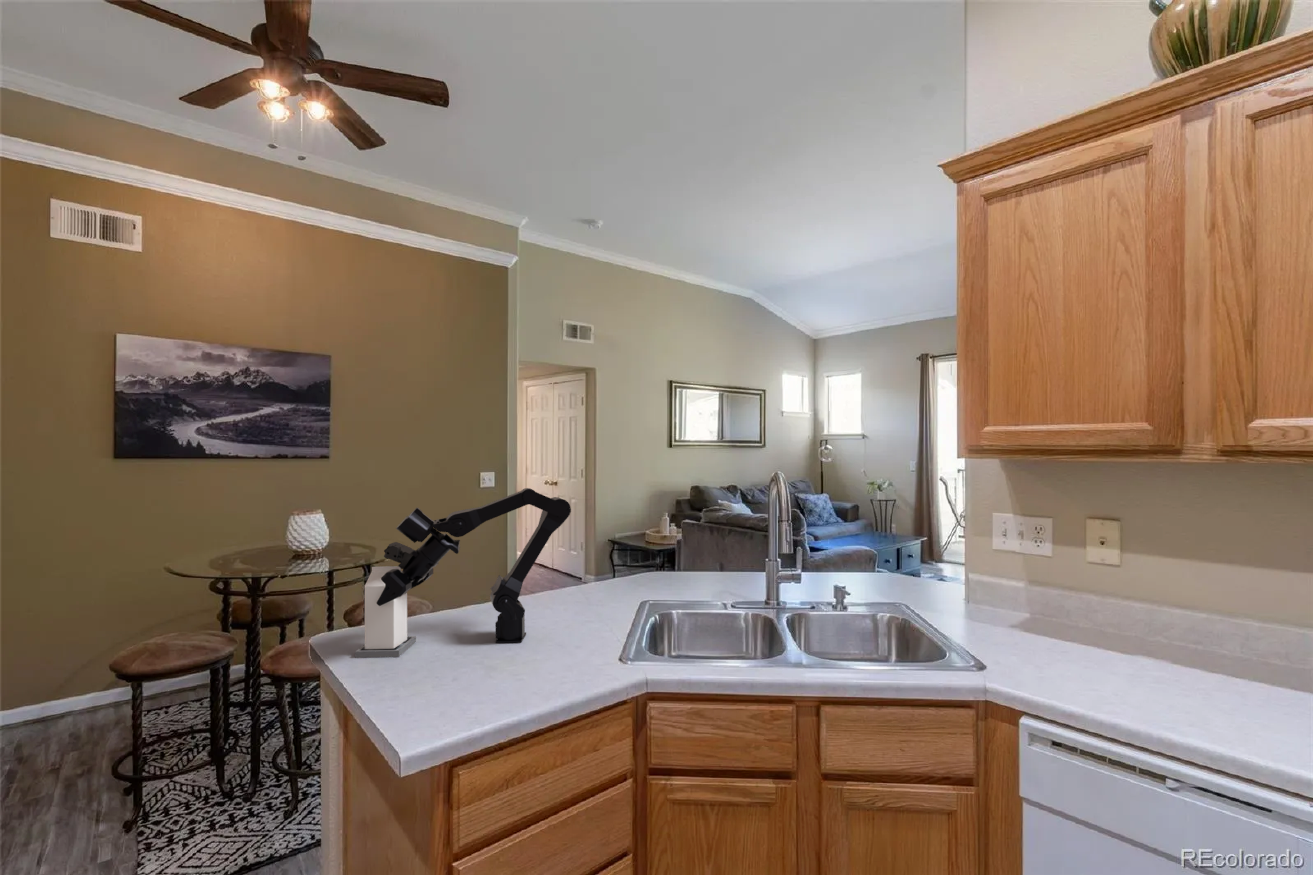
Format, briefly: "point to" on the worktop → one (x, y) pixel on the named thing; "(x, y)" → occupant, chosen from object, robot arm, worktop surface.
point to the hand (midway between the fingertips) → (385, 600)
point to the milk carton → (383, 614)
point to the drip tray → (385, 653)
